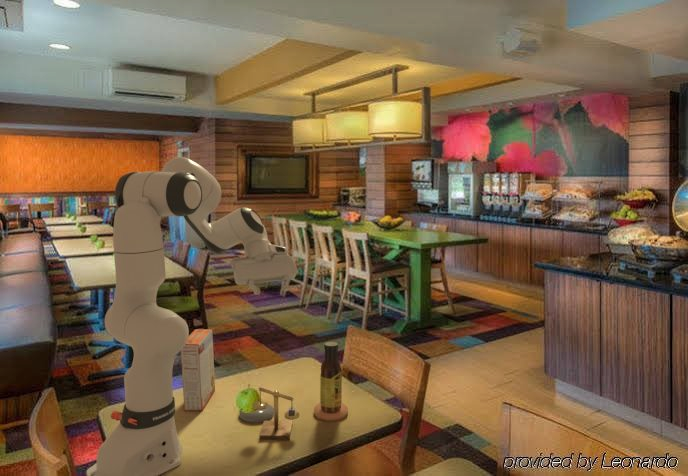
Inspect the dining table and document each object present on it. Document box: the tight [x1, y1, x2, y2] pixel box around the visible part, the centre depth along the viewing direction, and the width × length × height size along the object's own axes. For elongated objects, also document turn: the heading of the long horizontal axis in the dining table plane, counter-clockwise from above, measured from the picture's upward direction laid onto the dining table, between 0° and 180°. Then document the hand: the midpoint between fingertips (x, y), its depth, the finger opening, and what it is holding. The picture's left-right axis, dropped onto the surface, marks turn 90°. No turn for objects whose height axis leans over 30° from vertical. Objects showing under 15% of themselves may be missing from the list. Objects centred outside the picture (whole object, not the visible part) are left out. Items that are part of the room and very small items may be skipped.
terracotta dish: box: [313, 402, 349, 422], centre depth 155 cm, size 10×10×1 cm
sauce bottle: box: [319, 341, 343, 413], centre depth 154 cm, size 6×6×20 cm
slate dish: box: [239, 403, 274, 424], centre depth 154 cm, size 10×10×1 cm
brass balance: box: [252, 387, 300, 441], centre depth 143 cm, size 13×8×13 cm, turn 90°
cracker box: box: [180, 328, 216, 412], centre depth 161 cm, size 14×6×21 cm, turn 178°
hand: (272, 291), depth 163 cm, fingers open, 8 cm apart
